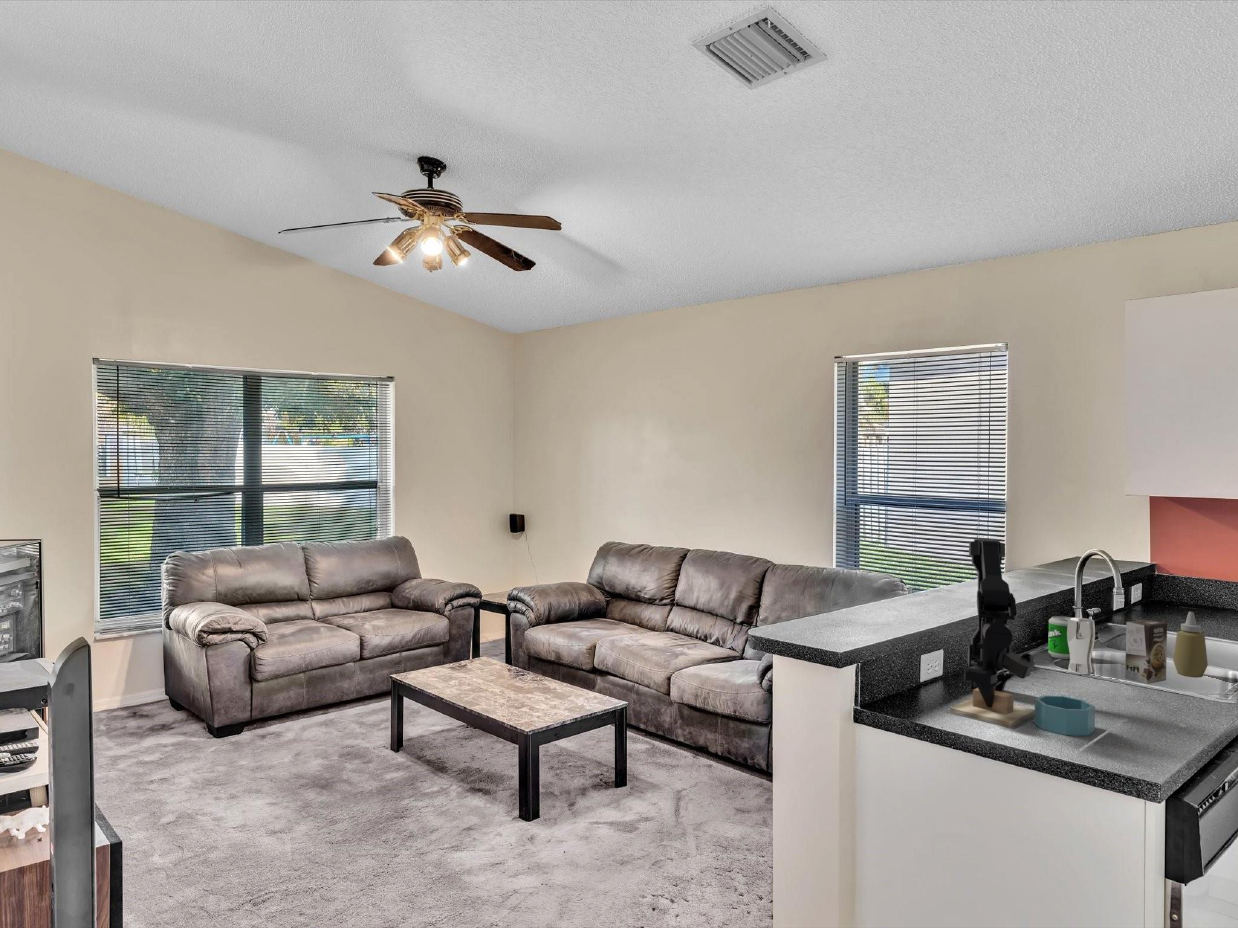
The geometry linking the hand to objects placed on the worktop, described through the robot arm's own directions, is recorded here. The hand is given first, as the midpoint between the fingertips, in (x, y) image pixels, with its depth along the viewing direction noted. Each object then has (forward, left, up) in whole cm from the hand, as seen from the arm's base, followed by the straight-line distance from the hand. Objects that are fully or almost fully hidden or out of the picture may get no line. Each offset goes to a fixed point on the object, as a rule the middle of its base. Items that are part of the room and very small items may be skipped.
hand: (993, 705), depth 192 cm
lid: (0, 0, -2) cm, 2 cm away
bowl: (+15, +2, -2) cm, 15 cm away
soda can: (-10, +74, -2) cm, 75 cm away
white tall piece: (0, +59, -2) cm, 59 cm away
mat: (0, 0, -2) cm, 2 cm away
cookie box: (+15, +64, -2) cm, 66 cm away
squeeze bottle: (+22, +79, -2) cm, 82 cm away
